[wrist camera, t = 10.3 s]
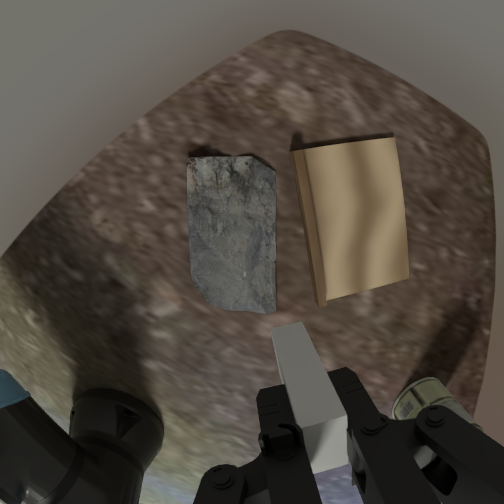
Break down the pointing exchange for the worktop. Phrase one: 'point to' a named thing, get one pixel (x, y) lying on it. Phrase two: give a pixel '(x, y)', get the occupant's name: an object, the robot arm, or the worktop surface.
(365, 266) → the board
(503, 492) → the robot arm
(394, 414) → the coffee can
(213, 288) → the stone slab
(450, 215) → the worktop surface
